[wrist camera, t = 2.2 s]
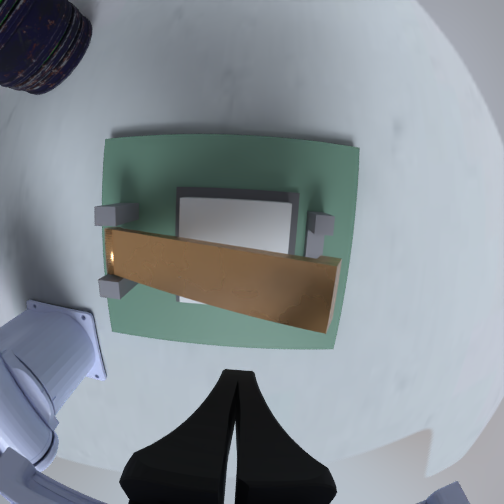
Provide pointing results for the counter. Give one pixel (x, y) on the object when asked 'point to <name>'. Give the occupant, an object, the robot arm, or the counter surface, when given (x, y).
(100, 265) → the counter surface
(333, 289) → the hold-down strap
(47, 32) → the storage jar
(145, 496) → the robot arm
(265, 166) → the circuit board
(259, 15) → the counter surface
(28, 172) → the counter surface
